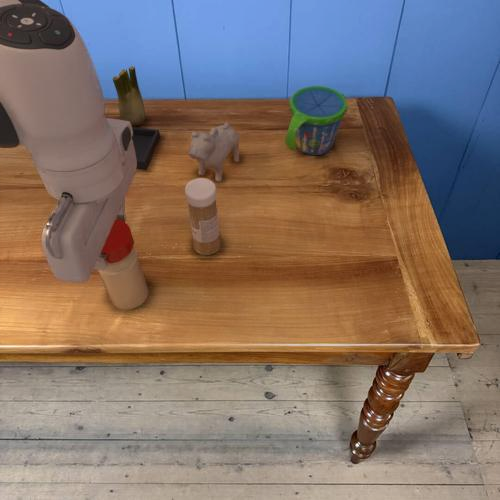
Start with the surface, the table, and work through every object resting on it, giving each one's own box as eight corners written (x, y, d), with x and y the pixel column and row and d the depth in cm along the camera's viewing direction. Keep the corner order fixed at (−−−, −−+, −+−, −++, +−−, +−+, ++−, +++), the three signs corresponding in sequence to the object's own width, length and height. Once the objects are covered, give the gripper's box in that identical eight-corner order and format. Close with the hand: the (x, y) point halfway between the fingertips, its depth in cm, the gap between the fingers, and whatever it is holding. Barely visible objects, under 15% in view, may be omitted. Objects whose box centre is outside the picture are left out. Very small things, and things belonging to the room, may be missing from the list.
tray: (62, 162, 90) (58, 154, 89) (81, 130, 97) (78, 122, 95) (146, 170, 89) (144, 162, 87) (160, 137, 95) (159, 129, 93)
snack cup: (303, 175, 87) (308, 131, 80) (267, 148, 93) (268, 104, 85) (358, 141, 94) (368, 97, 86) (321, 118, 99) (327, 74, 91)
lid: (143, 243, 62) (140, 232, 61) (108, 270, 59) (105, 260, 58) (113, 222, 65) (110, 212, 63) (78, 248, 62) (74, 238, 60)
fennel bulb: (144, 113, 100) (132, 61, 91) (152, 125, 98) (141, 73, 88) (118, 122, 98) (104, 69, 89) (126, 134, 96) (113, 81, 86)
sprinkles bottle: (190, 239, 78) (180, 180, 67) (216, 232, 78) (210, 173, 68) (197, 259, 75) (188, 201, 64) (224, 252, 76) (219, 194, 65)
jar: (105, 307, 69) (84, 264, 61) (117, 276, 73) (99, 231, 64) (142, 312, 69) (126, 269, 60) (152, 280, 72) (139, 236, 64)
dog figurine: (185, 186, 86) (177, 139, 78) (220, 147, 93) (217, 101, 85) (209, 195, 84) (204, 149, 76) (243, 155, 91) (242, 109, 83)
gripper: (72, 239, 44) (107, 313, 55) (135, 114, 57) (153, 194, 68) (11, 232, 45) (57, 306, 56) (86, 109, 57) (112, 189, 68)
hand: (110, 244), depth 62 cm, fingers closed on lid, 6 cm apart
